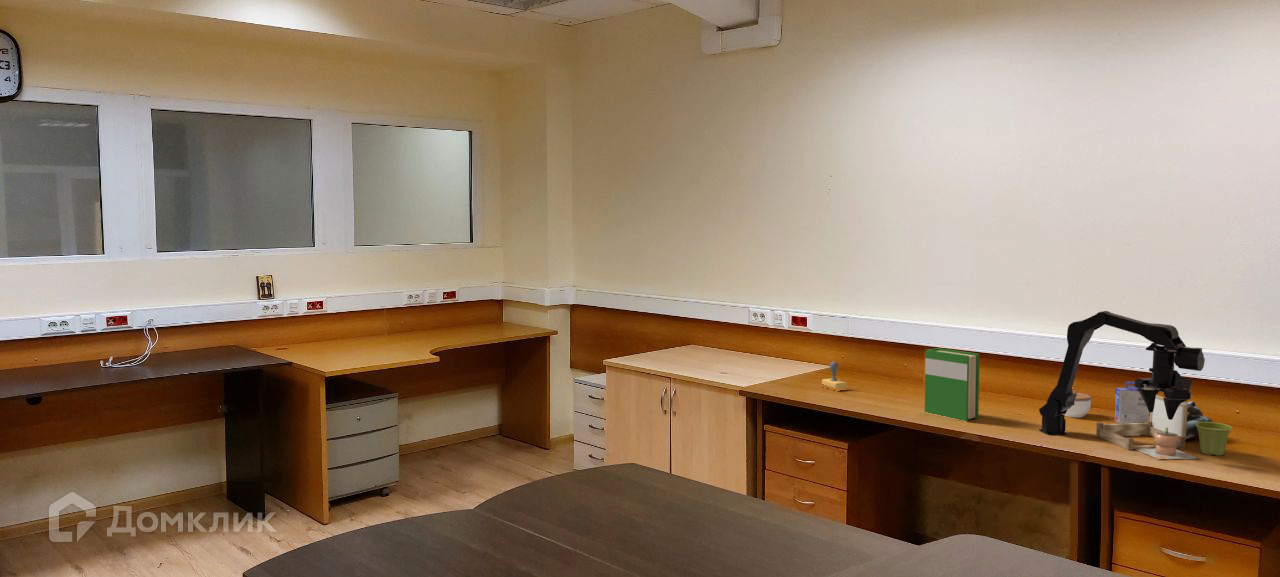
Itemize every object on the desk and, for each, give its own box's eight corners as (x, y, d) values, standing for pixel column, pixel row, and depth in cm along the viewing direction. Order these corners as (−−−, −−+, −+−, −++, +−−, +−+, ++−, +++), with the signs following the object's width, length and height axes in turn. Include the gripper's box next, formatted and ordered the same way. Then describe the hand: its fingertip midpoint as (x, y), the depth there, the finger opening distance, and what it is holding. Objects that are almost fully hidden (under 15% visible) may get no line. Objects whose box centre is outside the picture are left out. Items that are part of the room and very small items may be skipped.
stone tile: (1158, 460, 262) (1158, 458, 262) (1135, 450, 273) (1135, 449, 273) (1196, 459, 262) (1196, 457, 262) (1172, 449, 273) (1172, 447, 273)
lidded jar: (1089, 413, 321) (1090, 388, 320) (1091, 420, 311) (1092, 394, 310) (1057, 411, 325) (1058, 386, 324) (1058, 417, 316) (1058, 392, 315)
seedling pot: (1162, 456, 264) (1163, 430, 264) (1149, 450, 270) (1150, 425, 270) (1182, 455, 265) (1183, 429, 264) (1168, 450, 271) (1169, 424, 270)
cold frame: (1128, 450, 273) (1128, 435, 272) (1096, 435, 290) (1096, 422, 290) (1184, 448, 274) (1185, 434, 273) (1149, 434, 291) (1150, 420, 291)
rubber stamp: (821, 387, 375) (821, 360, 374) (832, 386, 378) (832, 359, 377) (835, 391, 366) (836, 363, 365) (846, 390, 369) (847, 362, 368)
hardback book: (978, 419, 316) (979, 353, 314) (966, 422, 312) (967, 356, 309) (936, 410, 330) (937, 348, 328) (924, 413, 326) (925, 350, 324)
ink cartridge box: (1143, 421, 309) (1145, 381, 307) (1149, 425, 303) (1151, 384, 302) (1113, 420, 311) (1114, 380, 309) (1118, 424, 305) (1120, 383, 304)
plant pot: (1238, 455, 266) (1239, 427, 265) (1216, 458, 262) (1218, 430, 261) (1208, 447, 274) (1209, 420, 274) (1187, 451, 271) (1188, 423, 270)
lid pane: (1182, 438, 274) (1184, 405, 273) (1149, 425, 290) (1150, 394, 289) (1185, 438, 274) (1187, 405, 273) (1152, 425, 290) (1153, 394, 289)
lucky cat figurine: (1175, 442, 280) (1156, 401, 285) (1162, 447, 291) (1144, 408, 296) (1223, 430, 278) (1203, 389, 283) (1208, 435, 289) (1189, 396, 294)
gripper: (1209, 371, 258) (1206, 423, 260) (1168, 360, 277) (1166, 408, 278) (1173, 372, 258) (1170, 423, 259) (1134, 360, 276) (1132, 408, 278)
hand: (1160, 415), depth 269 cm, fingers open, 9 cm apart
